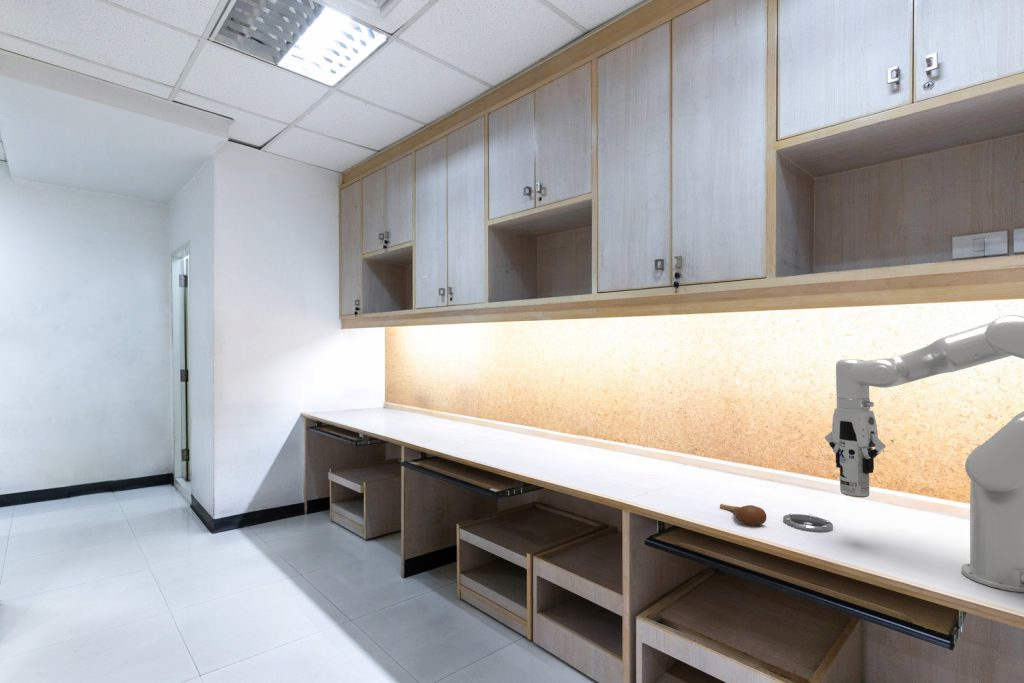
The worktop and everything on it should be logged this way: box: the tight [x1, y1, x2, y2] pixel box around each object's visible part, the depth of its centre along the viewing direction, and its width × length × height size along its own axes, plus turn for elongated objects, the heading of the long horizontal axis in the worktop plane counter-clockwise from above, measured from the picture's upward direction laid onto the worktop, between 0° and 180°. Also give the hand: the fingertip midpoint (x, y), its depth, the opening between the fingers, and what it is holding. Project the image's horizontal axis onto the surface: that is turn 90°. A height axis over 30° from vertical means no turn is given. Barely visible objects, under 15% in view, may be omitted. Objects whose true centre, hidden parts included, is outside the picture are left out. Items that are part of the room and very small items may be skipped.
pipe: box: [719, 503, 767, 527], centre depth 159 cm, size 8×19×6 cm, turn 14°
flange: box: [782, 513, 834, 533], centre depth 153 cm, size 13×13×1 cm
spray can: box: [839, 421, 870, 499], centre depth 138 cm, size 7×7×20 cm
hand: (854, 469), depth 138 cm, fingers closed on spray can, 6 cm apart
